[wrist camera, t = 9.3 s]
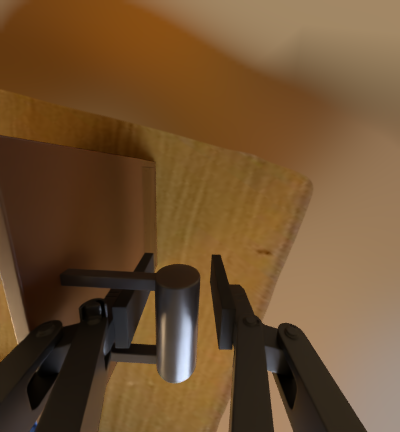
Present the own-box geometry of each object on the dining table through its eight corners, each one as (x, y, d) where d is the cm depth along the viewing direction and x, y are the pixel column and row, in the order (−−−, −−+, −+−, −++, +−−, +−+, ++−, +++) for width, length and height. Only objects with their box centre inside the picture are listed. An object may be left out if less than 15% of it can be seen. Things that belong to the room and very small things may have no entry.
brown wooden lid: (49, 480, 11) (190, 490, 11) (-37, 131, 6) (206, 141, 6) (140, 298, 26) (199, 301, 26) (135, 158, 21) (205, 161, 21)
